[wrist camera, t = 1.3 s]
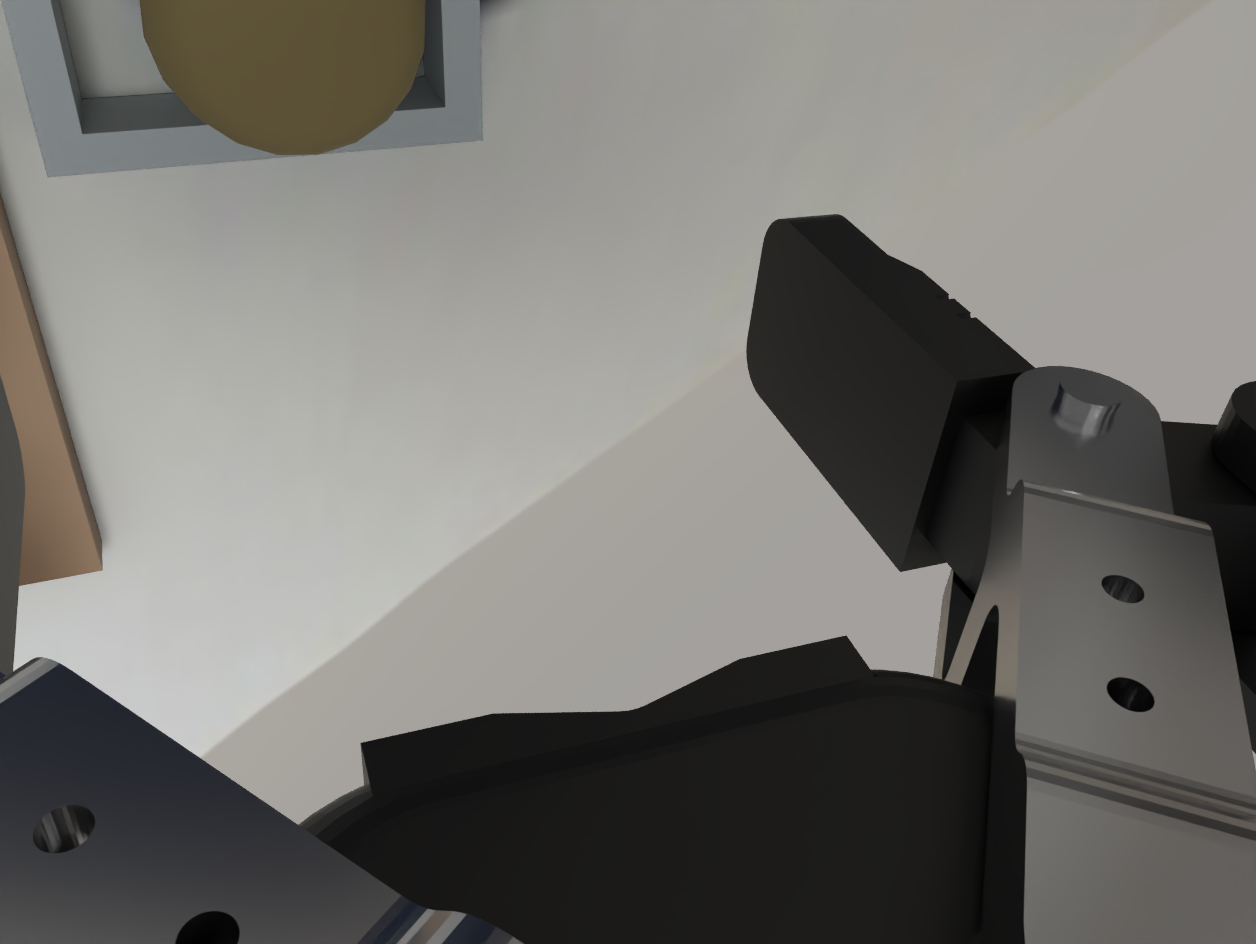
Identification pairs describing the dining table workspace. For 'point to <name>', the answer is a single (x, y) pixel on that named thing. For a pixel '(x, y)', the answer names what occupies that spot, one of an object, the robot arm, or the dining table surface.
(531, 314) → the dining table surface
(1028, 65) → the dining table surface
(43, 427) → the hub plate
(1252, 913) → the robot arm
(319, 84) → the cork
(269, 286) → the dining table surface
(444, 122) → the shaker holder
